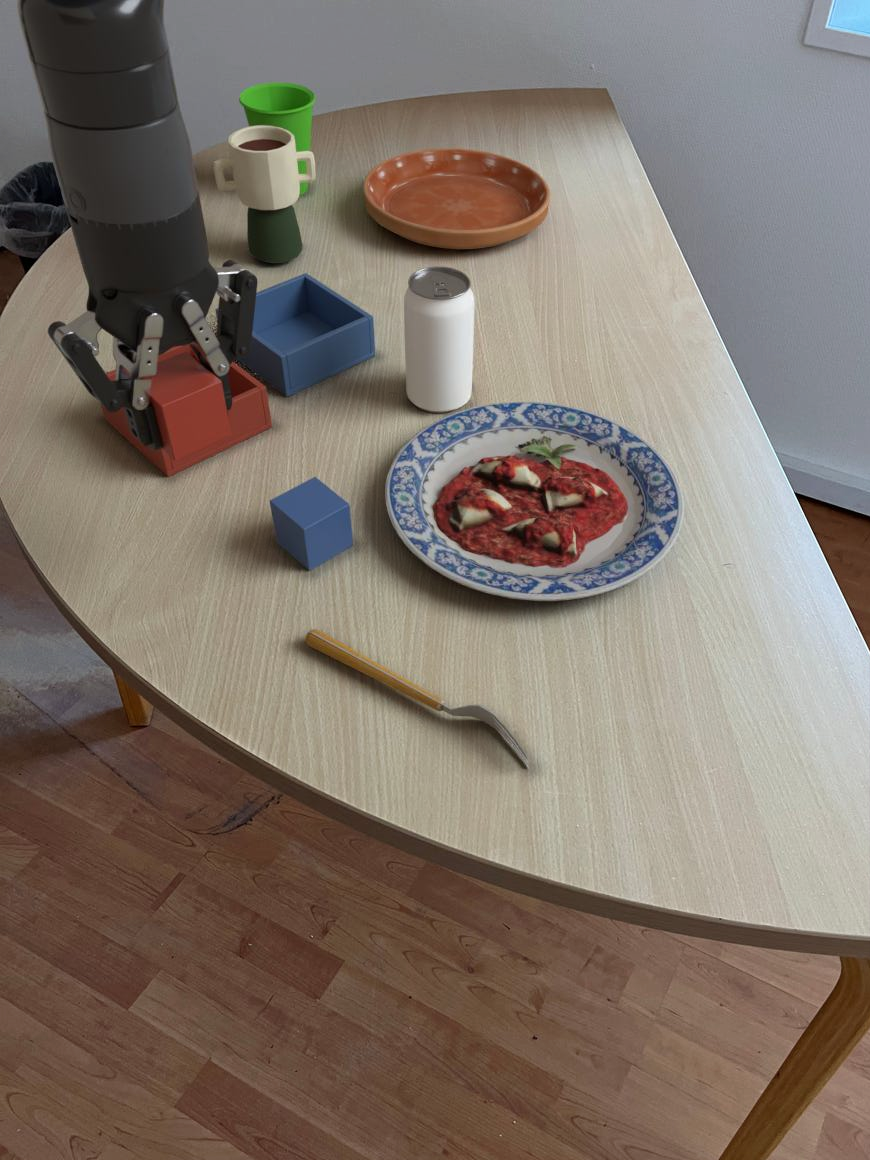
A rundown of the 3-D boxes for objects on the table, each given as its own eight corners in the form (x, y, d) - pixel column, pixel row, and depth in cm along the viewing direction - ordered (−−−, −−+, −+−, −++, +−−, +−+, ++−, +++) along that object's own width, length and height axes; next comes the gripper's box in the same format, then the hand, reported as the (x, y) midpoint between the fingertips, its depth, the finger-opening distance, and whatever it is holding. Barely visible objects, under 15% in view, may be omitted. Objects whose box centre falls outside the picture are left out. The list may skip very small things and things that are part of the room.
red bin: (168, 477, 85) (157, 436, 82) (104, 419, 90) (91, 378, 87) (272, 427, 91) (266, 386, 87) (206, 375, 96) (198, 334, 92)
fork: (295, 637, 72) (527, 756, 65) (310, 618, 72) (540, 734, 65) (305, 653, 74) (529, 771, 67) (319, 635, 74) (542, 749, 67)
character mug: (316, 235, 115) (305, 120, 105) (329, 263, 111) (318, 147, 101) (224, 246, 113) (204, 129, 103) (234, 275, 108) (214, 157, 99)
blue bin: (286, 397, 94) (281, 357, 90) (222, 348, 99) (214, 308, 95) (375, 355, 99) (373, 316, 96) (310, 311, 104) (306, 272, 101)
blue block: (309, 571, 78) (303, 529, 75) (276, 542, 80) (269, 500, 77) (353, 545, 80) (349, 504, 77) (320, 517, 83) (315, 476, 79)
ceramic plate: (605, 664, 73) (610, 639, 71) (327, 542, 81) (323, 516, 78) (721, 478, 88) (728, 452, 86) (477, 390, 96) (478, 364, 93)
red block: (174, 461, 66) (161, 406, 63) (140, 429, 68) (125, 374, 65) (231, 435, 68) (221, 380, 65) (197, 405, 70) (185, 350, 67)
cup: (263, 210, 119) (250, 115, 111) (244, 179, 124) (230, 87, 116) (332, 199, 122) (325, 106, 113) (310, 169, 127) (302, 78, 118)
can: (466, 374, 97) (469, 262, 88) (476, 412, 93) (481, 298, 84) (402, 378, 96) (399, 265, 87) (410, 417, 92) (407, 303, 83)
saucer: (486, 162, 130) (488, 133, 127) (583, 234, 118) (587, 204, 115) (333, 197, 122) (331, 167, 119) (420, 278, 109) (420, 247, 107)
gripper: (203, 135, 60) (241, 369, 73) (-20, 197, 53) (65, 443, 66) (272, 178, 57) (299, 416, 70) (43, 251, 50) (120, 499, 63)
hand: (184, 428), depth 68 cm, fingers closed on red block, 4 cm apart
